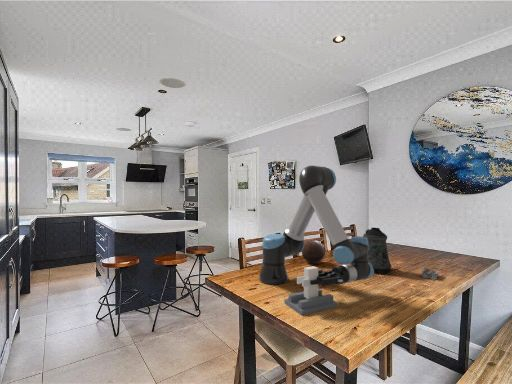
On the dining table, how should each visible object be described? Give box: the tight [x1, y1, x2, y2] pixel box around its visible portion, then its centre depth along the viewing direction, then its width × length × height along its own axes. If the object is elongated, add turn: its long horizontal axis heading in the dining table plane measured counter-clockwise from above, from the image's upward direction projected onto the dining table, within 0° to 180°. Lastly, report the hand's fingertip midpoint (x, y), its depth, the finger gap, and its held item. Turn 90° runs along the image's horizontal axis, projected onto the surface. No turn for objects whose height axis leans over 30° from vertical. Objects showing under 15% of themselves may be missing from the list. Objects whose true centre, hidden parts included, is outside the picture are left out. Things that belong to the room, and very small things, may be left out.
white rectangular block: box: [303, 265, 319, 299], centre depth 110 cm, size 3×5×12 cm, turn 116°
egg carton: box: [421, 266, 440, 280], centre depth 147 cm, size 10×7×4 cm
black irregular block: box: [362, 227, 392, 275], centre depth 161 cm, size 16×19×25 cm
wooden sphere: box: [301, 239, 326, 264], centre depth 175 cm, size 15×15×15 cm
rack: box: [283, 288, 339, 316], centre depth 110 cm, size 12×18×4 cm, turn 116°
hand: (300, 281), depth 107 cm, fingers closed on white rectangular block, 3 cm apart
